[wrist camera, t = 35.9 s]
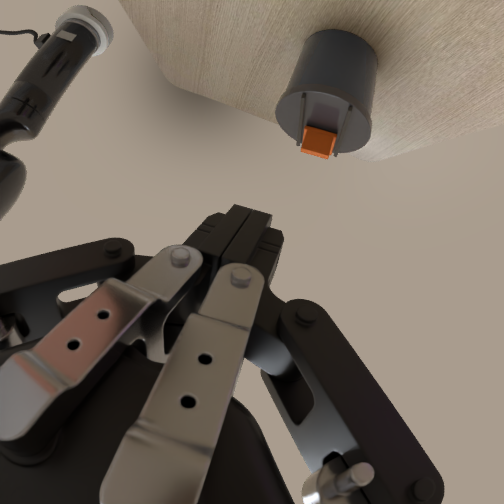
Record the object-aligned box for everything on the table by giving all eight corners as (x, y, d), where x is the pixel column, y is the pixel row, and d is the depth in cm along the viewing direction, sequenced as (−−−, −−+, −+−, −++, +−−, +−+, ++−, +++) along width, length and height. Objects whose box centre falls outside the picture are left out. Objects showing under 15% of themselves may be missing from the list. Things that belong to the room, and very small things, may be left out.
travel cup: (298, 75, 39) (273, 143, 36) (302, 19, 29) (272, 86, 26) (370, 95, 37) (357, 167, 35) (388, 42, 27) (381, 116, 25)
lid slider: (302, 144, 35) (296, 165, 35) (305, 125, 31) (298, 147, 31) (331, 152, 35) (326, 174, 34) (337, 134, 31) (331, 156, 30)
